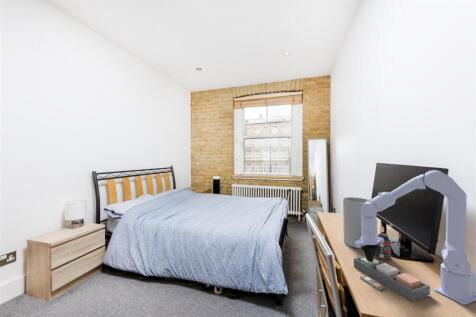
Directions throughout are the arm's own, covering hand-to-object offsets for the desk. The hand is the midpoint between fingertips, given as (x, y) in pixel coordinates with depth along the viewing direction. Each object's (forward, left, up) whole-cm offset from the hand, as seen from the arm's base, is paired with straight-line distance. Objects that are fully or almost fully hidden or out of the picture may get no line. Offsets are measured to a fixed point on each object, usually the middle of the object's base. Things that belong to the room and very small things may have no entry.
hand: (369, 260), depth 88 cm
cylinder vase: (-16, -21, -4) cm, 27 cm away
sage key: (0, 0, -3) cm, 3 cm away
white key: (0, +8, -2) cm, 8 cm away
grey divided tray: (0, +8, -4) cm, 8 cm away
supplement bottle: (-15, -5, -4) cm, 16 cm away
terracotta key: (0, +15, -2) cm, 15 cm away
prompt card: (+8, +8, -4) cm, 12 cm away
